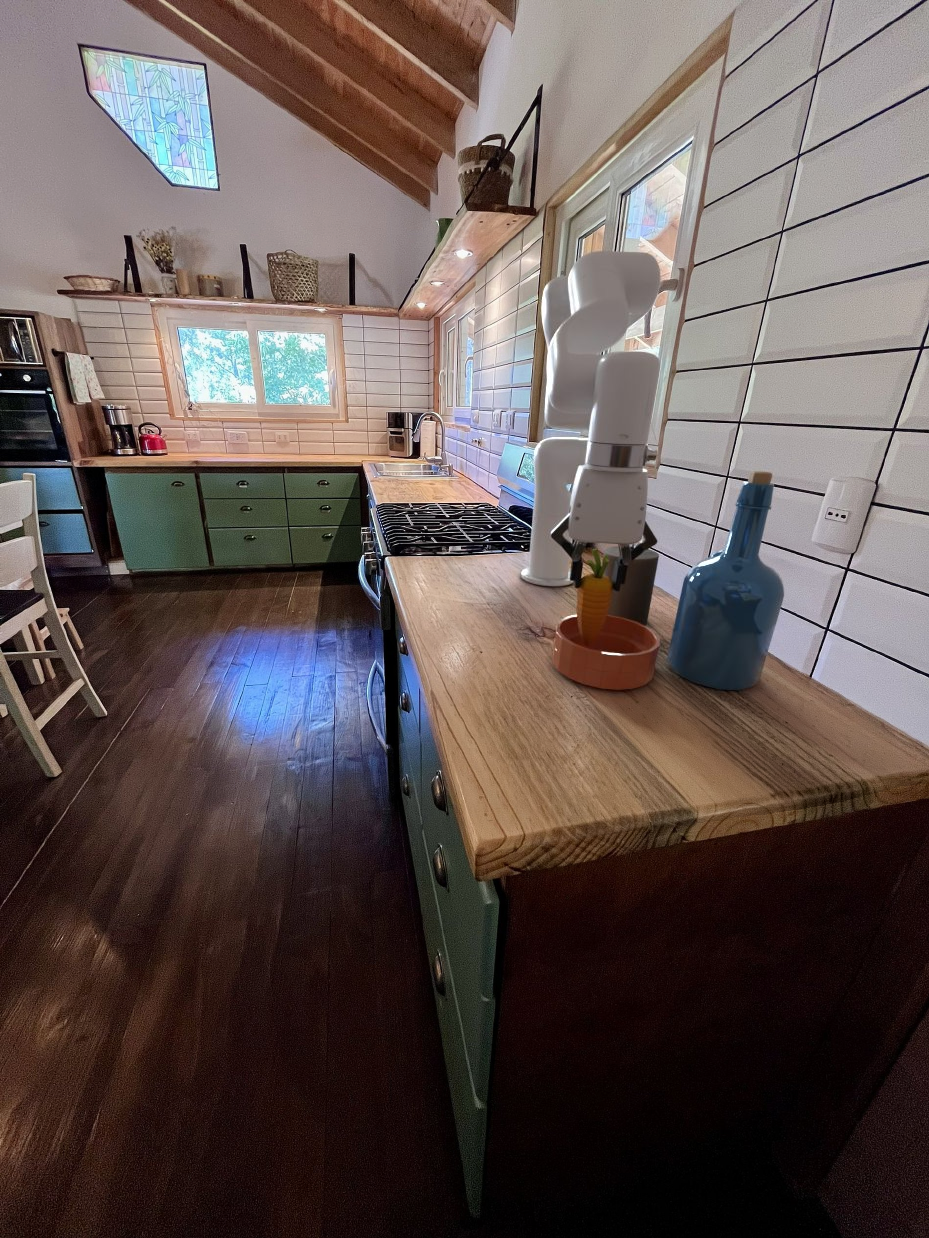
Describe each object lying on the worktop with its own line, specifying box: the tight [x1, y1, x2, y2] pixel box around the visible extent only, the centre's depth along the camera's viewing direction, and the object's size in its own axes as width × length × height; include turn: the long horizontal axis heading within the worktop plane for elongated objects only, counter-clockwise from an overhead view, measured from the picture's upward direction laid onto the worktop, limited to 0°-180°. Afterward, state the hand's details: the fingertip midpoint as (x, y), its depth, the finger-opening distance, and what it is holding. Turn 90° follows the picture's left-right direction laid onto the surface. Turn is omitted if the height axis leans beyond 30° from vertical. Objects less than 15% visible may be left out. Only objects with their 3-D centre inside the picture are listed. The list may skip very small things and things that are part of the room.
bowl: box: [551, 614, 661, 691], centre depth 76 cm, size 15×15×6 cm
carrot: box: [576, 548, 614, 646], centre depth 74 cm, size 5×5×15 cm
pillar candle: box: [602, 544, 660, 627], centre depth 92 cm, size 10×10×15 cm
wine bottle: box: [667, 470, 785, 691], centre depth 72 cm, size 14×13×30 cm
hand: (595, 585), depth 73 cm, fingers closed on carrot, 5 cm apart
